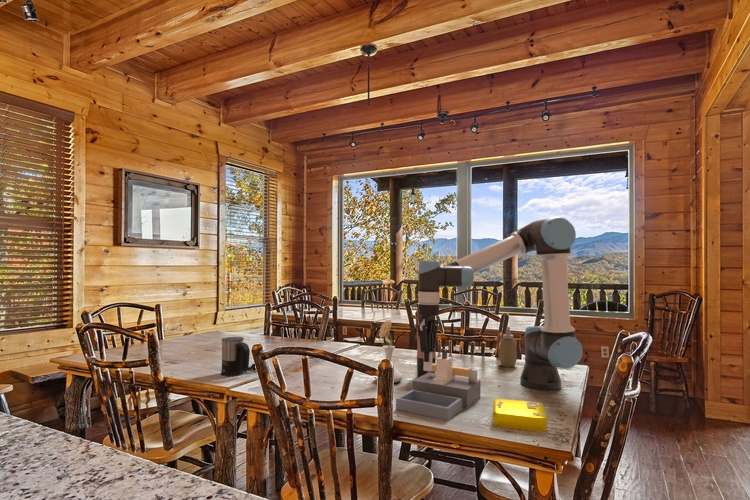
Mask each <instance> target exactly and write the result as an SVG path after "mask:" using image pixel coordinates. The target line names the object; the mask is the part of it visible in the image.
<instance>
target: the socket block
mask: <svg viewBox="0 0 750 500" xmlns="http://www.w3.org/2000/svg"><path fill="white" fill-rule="evenodd" d="M434 378H436V372H435V373H431V372H428V373H426V374H424V375H423V376H421V377H419V378H418V377H417V378H415V379H413V380H412V388H411V390H418V391H423V392H429V393H435V394H440V395H446V396H451V397H457V398H462V408H465V409H468V408H469V407H471V406H472V405H473V404H474V403H475V402H477V401H478V400H479V399H480V398H481V390H482V389H481V385H482V383H481V382H482V381H481V379H477V382H476V383H471V382H469V381H468V377H464V376H457V375H455V379H453V380H452V382H450V383H447V384H445V385H439V384H433V379H434Z"/></svg>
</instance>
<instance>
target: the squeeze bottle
mask: <svg viewBox="0 0 750 500" xmlns="http://www.w3.org/2000/svg"><path fill="white" fill-rule="evenodd" d="M499 345H500V347H499V355H498V357H499V358H498V359H499V362H500V365H501V366H502V367H505V368H514V367H515V366H516V363H517V360H518V355H517V345H516V340H515V339H514V335H513V334H512V332H511V328H510V327H509V326H507V327H506V331H505V334H502V339H501V340H500V344H499Z"/></svg>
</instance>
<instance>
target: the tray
mask: <svg viewBox="0 0 750 500" xmlns="http://www.w3.org/2000/svg"><path fill="white" fill-rule="evenodd" d="M396 409H399V410H398V411H401V410H404V411H403V412H406V411H409V412H408V413H411V412H413V413H412V414H415V413H418V414H417V415H420V414H422V416H425V415H426V417H430V418H434V417H435V418H434V419H438V420H439V419H440V420H444V421H450V420H451V419H453V418H454V417H455V416H456V415H457V414H458V413H459V412H461V411H462V410H463V407H462V398H457V397H451V396H446V395H440V394H435V393H429V392H423V391H418V390H412V389H411V390H409V391H408V392H405V393H404V394H402V395H400V396H398V397H396V399H395V410H396Z"/></svg>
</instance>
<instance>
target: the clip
mask: <svg viewBox="0 0 750 500" xmlns="http://www.w3.org/2000/svg"><path fill="white" fill-rule="evenodd" d="M432 372H435V373H436V363H435V364H434V363H432ZM452 375H455V376H457V377H464V378H468V381H469V382H471V383H476V382H477V380H478V369H476V368H469V367H460V366H453V365H452Z"/></svg>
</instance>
